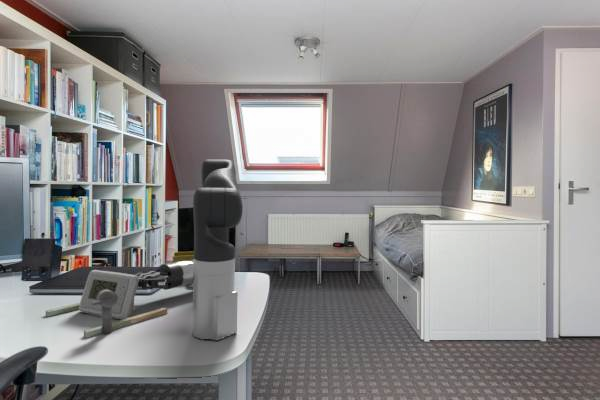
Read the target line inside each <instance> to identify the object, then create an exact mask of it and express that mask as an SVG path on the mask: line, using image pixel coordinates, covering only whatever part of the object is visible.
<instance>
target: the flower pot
mask: <svg viewBox="0 0 600 400" xmlns="http://www.w3.org/2000/svg"><path fill="white" fill-rule="evenodd" d="M189 260H194V251H174V252H172V263H173V262H179V261H189Z"/></svg>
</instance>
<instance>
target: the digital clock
mask: <svg viewBox="0 0 600 400" xmlns="http://www.w3.org/2000/svg"><path fill="white" fill-rule="evenodd" d="M138 281H139V278H138V276H136V275H135V274H130V273H129V274H128V273H127V272H125V273H124V272H119V271H117V272H116V271H112V270H110V271H109V270H99V269H93V270H91V271H89V273H88V276H87V279H86V282H85V285H84V289H83V292H82V295H81V299H80V301H79V303H80V304H79V309H78V310H79V312H81V313H84V314H89V315H90V316H91V315H92V316H97V317H100V318H102V306H101V305H99V304H97V305H92V302H95V301H96V297H97V295H98V293H99V292H100V291H102V290H105V289H107V290H110V291H113V292H115V293H116V294H117V296H118V299H117V302H116V304H115V305H114V306H112V320H117V319H118V320H123V319H126V318H130V314H131V313H133V312H135V296H136V293H137V290H138V288H137V285H138Z"/></svg>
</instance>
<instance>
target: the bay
mask: <svg viewBox="0 0 600 400" xmlns="http://www.w3.org/2000/svg"><path fill="white" fill-rule="evenodd" d="M117 299H118V296H117V294H116V293H115V292H113V291H110V290H107V289H105V290H102V291H100V292H99V293H98V295H97V297H96V301H95V302H92V305H97V304H99V305H101V306H102V317H101V325H99V326H95V327H92V328H89V329H84V330H83V337H84V338H87V339H88V338H90V337H94V336H97V335H100V334H102V335H109V334H112V332H113V330H117V329H120V328H124V327H127V326H130V325H133V324H137V323H140V322H144V321H146V320H151V319H154V318H156V317H160V316H163V315H165V314H167V315H168V311H169V310H168V307H167V308H166V307H161V308H157V309H155V310H151V311H148V312H144V313H141V314H137V315H133V316H131V317H130V316H129V317H128V318H126V319H118V320H116V321H113V319H112V306H114V305H115V304H116V302H117ZM79 304H80V302H77V303H74V304H70V305H69V304H68V305H65V306H60V307H55V308H52V309H48V310H45V316H46V317H48V318H49V317H52V316H57V315H60V314H61V315H62V314H65V313H68V312H74V311H78V310H79Z"/></svg>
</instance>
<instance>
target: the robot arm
mask: <svg viewBox="0 0 600 400" xmlns="http://www.w3.org/2000/svg"><path fill="white" fill-rule="evenodd" d="M236 174H237V173H236V167H235V165H234V162H233V161H232V160H230V159H204V160H203V161H202V164H201V183H202V187H198V188H197V189H196V190H195V191H194V194H193V199H192V200H193V201H192V210H193V211H192V213H193V233H194V234H193V235H194V236H193V240H194V241H193V242H194V243H193V252H194V260H189V261H179V262H173V261H172V262H168V263H163V264H161V265H159V266H158V268H157V270H151V271H148V272H146V273H143V271H138V272H137V273H135V274H134V275H136V276H138V278H139V281H138V285H137V289H142V290H149V289H163V290H165V291H167V290H172V289H176V288H180V287H184V286H187V285H189V284H192V285H193V286H192V287H193V288H192V336H193V337H195V338H196V337H197V339H199V338H200V340H204V339H214V340H213V341H215V340H219V339H221V338H223V337H226V336H228V335H230V336H232V335H231V334H233V333H235V334H237V333H238V296H239V295H238V292H237V291H236V290H235V274H236V273H235V272H236V270H235V269H236V268H235V267H236V248H235V246H234V244H232V243H229V229H232V228H233V229H234V228H235V227H237V226H238V225H239V224H240V222H241V220H242V218H243V217H242V216H243V207H244V206H243V201H242V200H243V199H242V197H241V194H240V191H239V189H238V183H237V180H236ZM236 332H237V333H236ZM233 335H234V334H233ZM228 337H229V336H228ZM226 338H227V337H226ZM223 339H224V338H223ZM221 340H222V339H221ZM219 341H220V340H219Z"/></svg>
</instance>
